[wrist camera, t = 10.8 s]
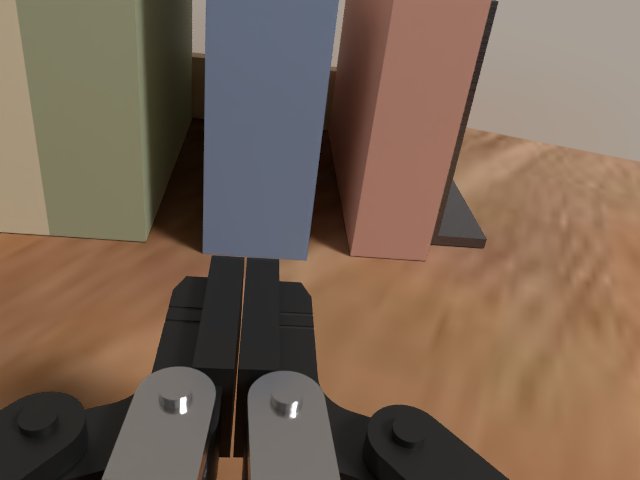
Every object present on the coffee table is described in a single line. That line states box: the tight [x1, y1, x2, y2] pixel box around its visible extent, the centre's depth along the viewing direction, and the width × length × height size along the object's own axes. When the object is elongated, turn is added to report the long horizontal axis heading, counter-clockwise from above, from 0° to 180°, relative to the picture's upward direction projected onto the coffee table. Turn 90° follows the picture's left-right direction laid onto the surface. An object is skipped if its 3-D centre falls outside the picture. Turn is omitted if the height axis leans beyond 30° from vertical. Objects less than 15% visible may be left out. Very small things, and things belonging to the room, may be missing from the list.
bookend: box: [431, 0, 498, 248], centre depth 30 cm, size 3×12×11 cm, turn 3°
